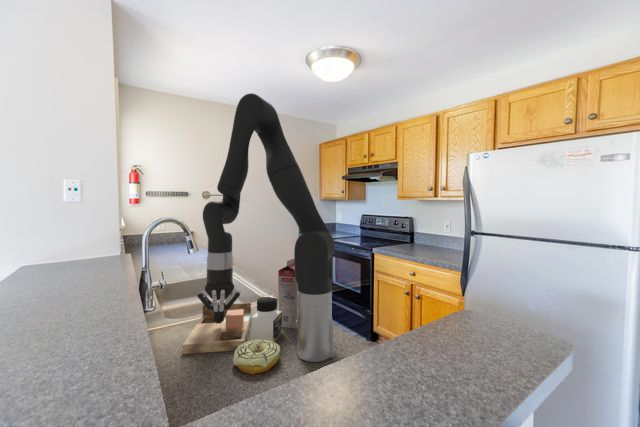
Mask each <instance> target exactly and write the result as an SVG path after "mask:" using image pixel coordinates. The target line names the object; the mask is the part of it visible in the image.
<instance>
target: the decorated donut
mask: <svg viewBox="0 0 640 427" xmlns="http://www.w3.org/2000/svg"><path fill="white" fill-rule="evenodd" d="M233 354H234V355H233V358H232V362H233V365H234V366H236V367H237V368H238V370H239V371H241V372H242V373H245V374H249V375H255V374H261V373H265V372H267V371H269V370H270V369H272V368H273V366H276V364H277V363H278V362H279V359H280V356H281V347H280V345H279V344H278V343H277V342H276V341H275V342H273V341H270V340H262V339H258V340H248V341H246V342H245V343H243V344H241V345H240V346H239V347H238V348H237V349H236V350H234V353H233Z"/></svg>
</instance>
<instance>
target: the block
mask: <svg viewBox="0 0 640 427" xmlns="http://www.w3.org/2000/svg"><path fill="white" fill-rule="evenodd" d="M243 323H244V309H239V310H228V311H227V314H226V329H233V328H243Z"/></svg>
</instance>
